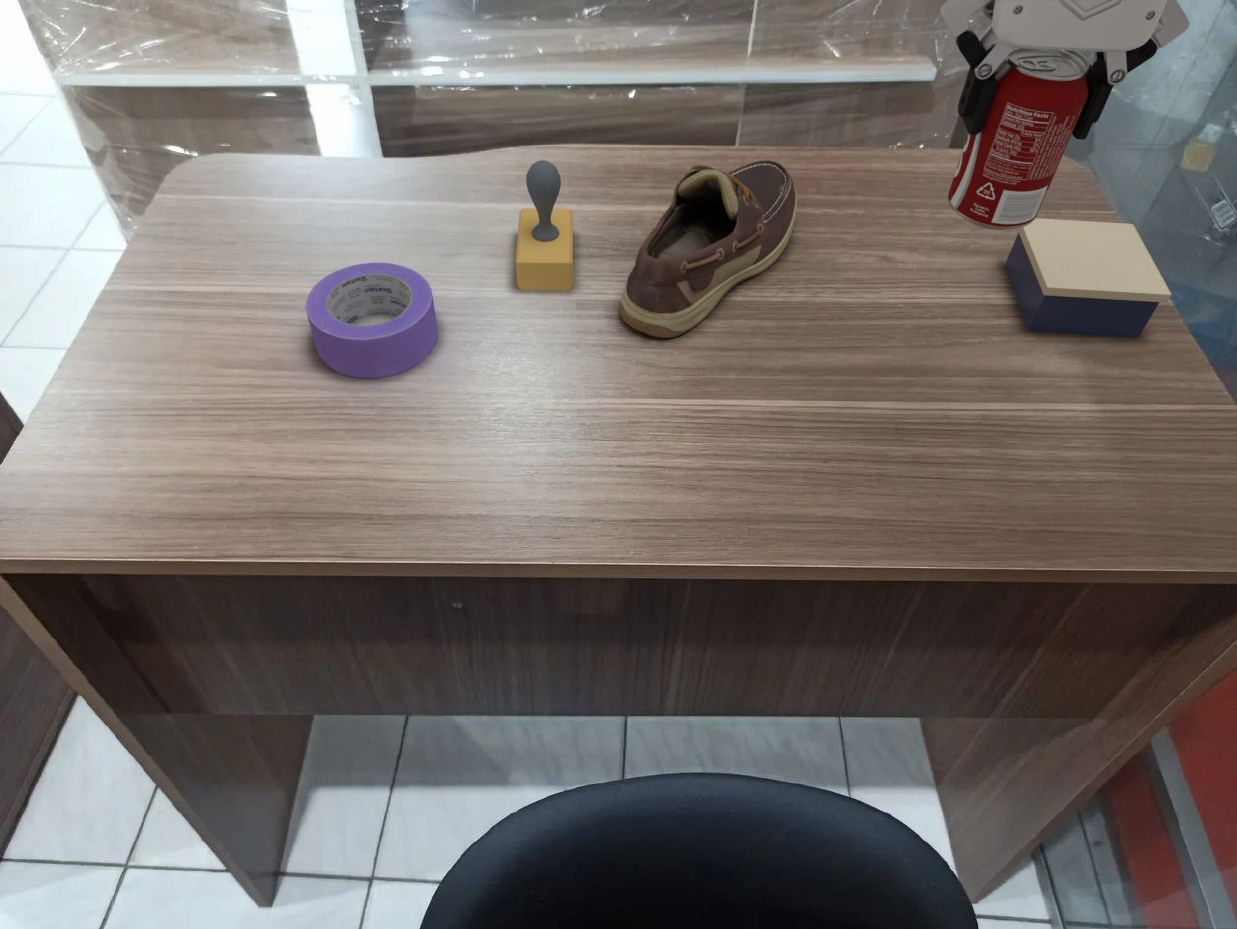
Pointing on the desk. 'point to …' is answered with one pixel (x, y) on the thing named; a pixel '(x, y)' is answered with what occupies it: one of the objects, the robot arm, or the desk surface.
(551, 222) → the rubber stamp
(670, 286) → the boat shoe
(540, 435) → the desk surface
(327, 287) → the tape roll
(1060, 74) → the soda can
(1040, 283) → the navy box with lid
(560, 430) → the desk surface
